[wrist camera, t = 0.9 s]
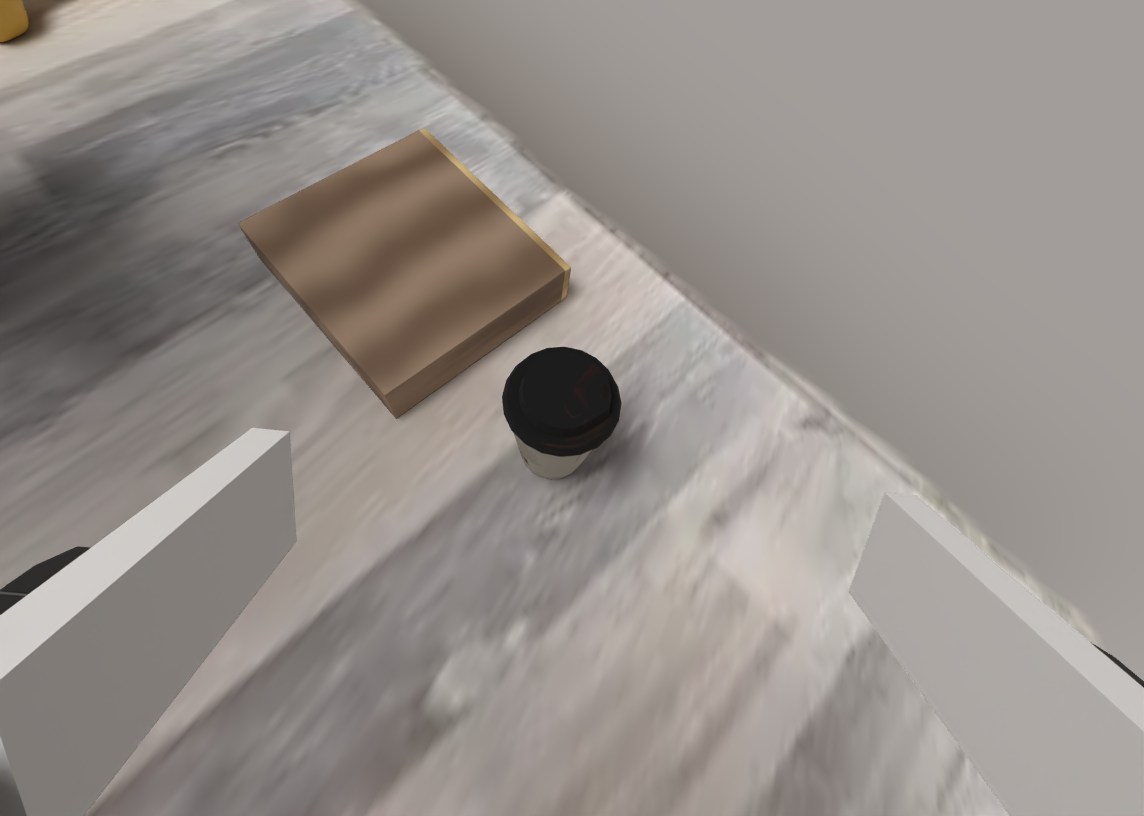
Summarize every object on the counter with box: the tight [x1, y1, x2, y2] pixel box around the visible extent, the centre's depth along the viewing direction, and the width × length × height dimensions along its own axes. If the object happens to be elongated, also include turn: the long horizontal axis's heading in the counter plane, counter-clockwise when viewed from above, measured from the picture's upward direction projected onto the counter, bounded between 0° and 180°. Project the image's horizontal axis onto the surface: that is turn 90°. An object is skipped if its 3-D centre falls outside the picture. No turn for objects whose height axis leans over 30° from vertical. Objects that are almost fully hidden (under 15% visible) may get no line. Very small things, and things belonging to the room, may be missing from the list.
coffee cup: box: [502, 347, 621, 479], centre depth 36 cm, size 7×7×10 cm
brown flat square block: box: [237, 129, 571, 419], centre depth 43 cm, size 18×17×4 cm
